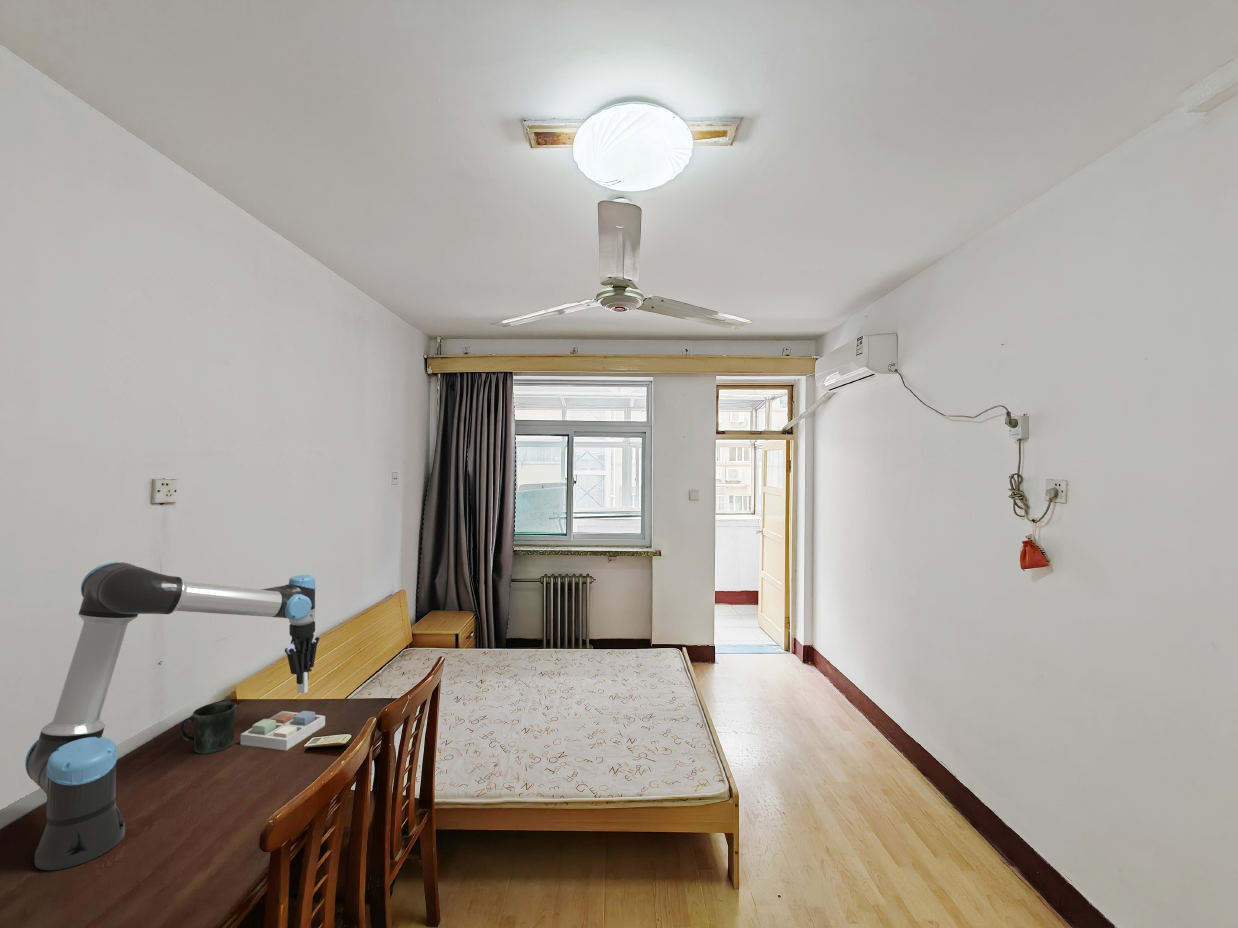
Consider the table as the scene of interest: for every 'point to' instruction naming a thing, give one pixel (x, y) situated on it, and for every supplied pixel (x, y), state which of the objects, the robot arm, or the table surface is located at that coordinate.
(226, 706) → the mug
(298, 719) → the key slate
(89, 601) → the robot arm
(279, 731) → the key ivory
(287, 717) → the key terracotta
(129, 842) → the table surface
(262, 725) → the key sage
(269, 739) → the frame
